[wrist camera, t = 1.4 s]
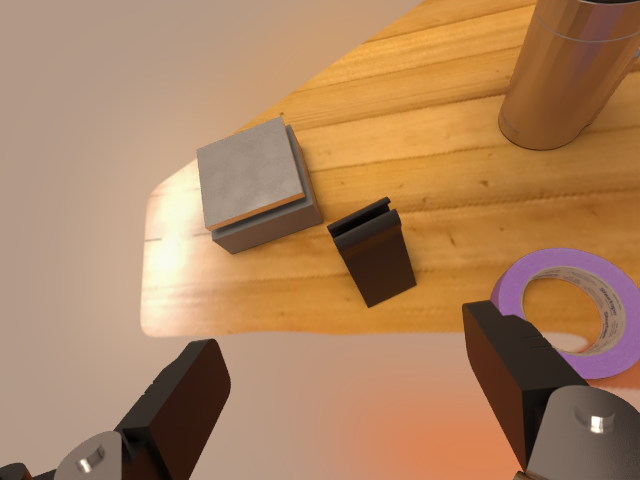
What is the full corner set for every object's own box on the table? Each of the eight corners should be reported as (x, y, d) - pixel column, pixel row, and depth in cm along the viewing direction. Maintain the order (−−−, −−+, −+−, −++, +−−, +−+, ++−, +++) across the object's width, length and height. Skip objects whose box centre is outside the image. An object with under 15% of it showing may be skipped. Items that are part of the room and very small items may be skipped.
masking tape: (656, 322, 31) (687, 314, 27) (567, 407, 30) (587, 410, 26) (542, 238, 36) (557, 224, 32) (464, 309, 35) (470, 302, 32)
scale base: (299, 143, 49) (288, 120, 44) (323, 222, 43) (313, 204, 38) (220, 174, 50) (202, 154, 46) (232, 254, 44) (212, 240, 40)
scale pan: (283, 121, 43) (281, 116, 42) (304, 196, 38) (302, 192, 37) (200, 154, 44) (196, 149, 43) (210, 231, 39) (205, 227, 38)
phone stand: (336, 243, 41) (311, 195, 31) (380, 222, 41) (370, 166, 30) (368, 308, 37) (351, 279, 27) (416, 285, 37) (419, 247, 26)
